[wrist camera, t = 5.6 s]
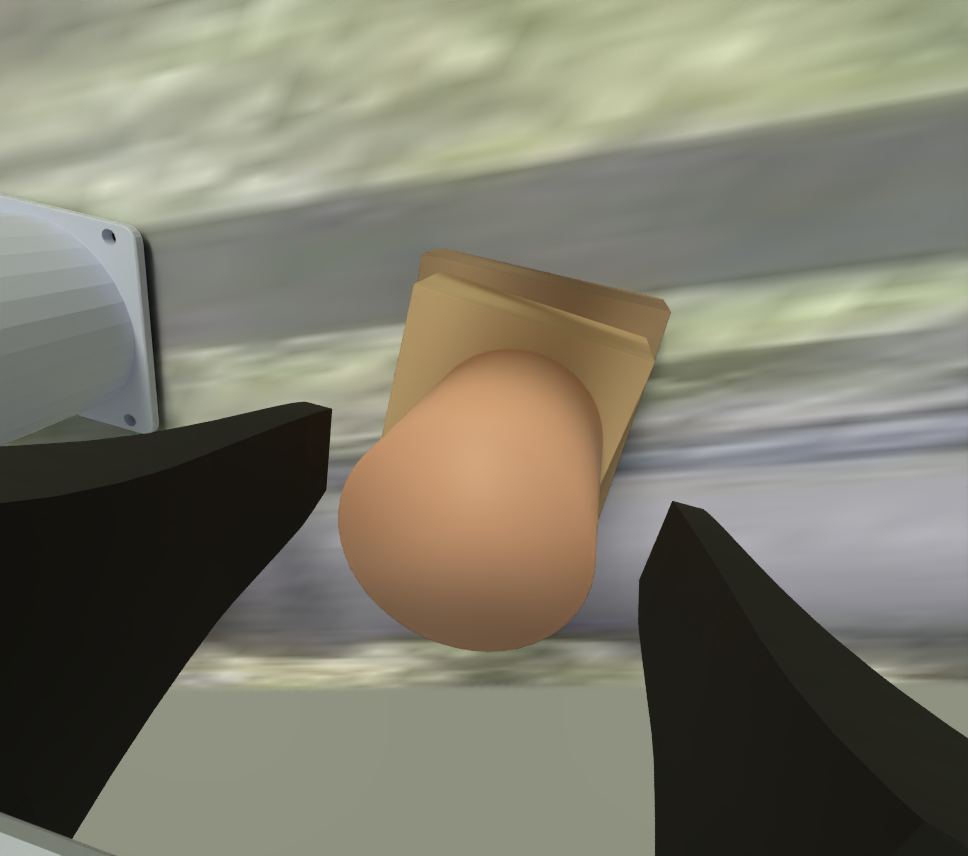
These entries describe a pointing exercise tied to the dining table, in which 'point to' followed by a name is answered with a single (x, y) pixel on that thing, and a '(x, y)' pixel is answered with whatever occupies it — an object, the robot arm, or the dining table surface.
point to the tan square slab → (562, 306)
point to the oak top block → (515, 325)
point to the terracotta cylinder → (481, 505)
